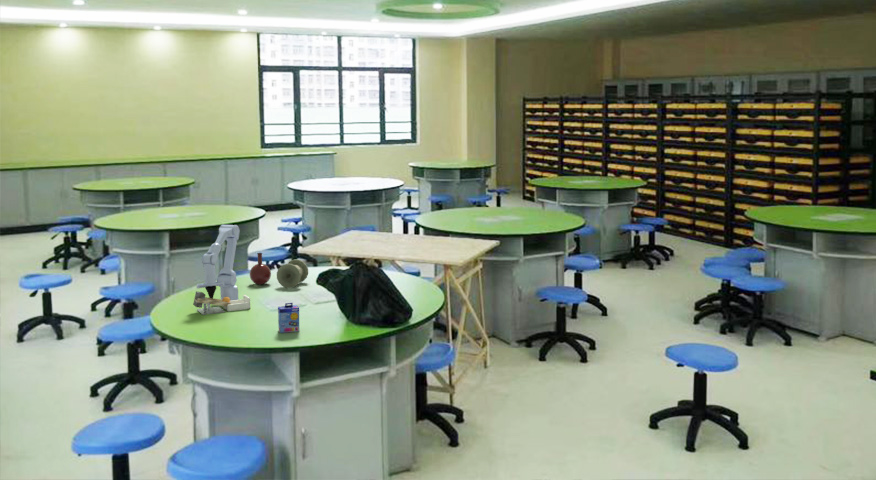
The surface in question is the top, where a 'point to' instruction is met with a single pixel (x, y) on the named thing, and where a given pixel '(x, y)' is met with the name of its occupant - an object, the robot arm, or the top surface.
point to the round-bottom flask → (260, 272)
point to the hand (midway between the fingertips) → (211, 299)
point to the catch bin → (238, 304)
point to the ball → (226, 299)
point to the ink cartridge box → (288, 318)
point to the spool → (292, 273)
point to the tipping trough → (207, 300)
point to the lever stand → (210, 310)
